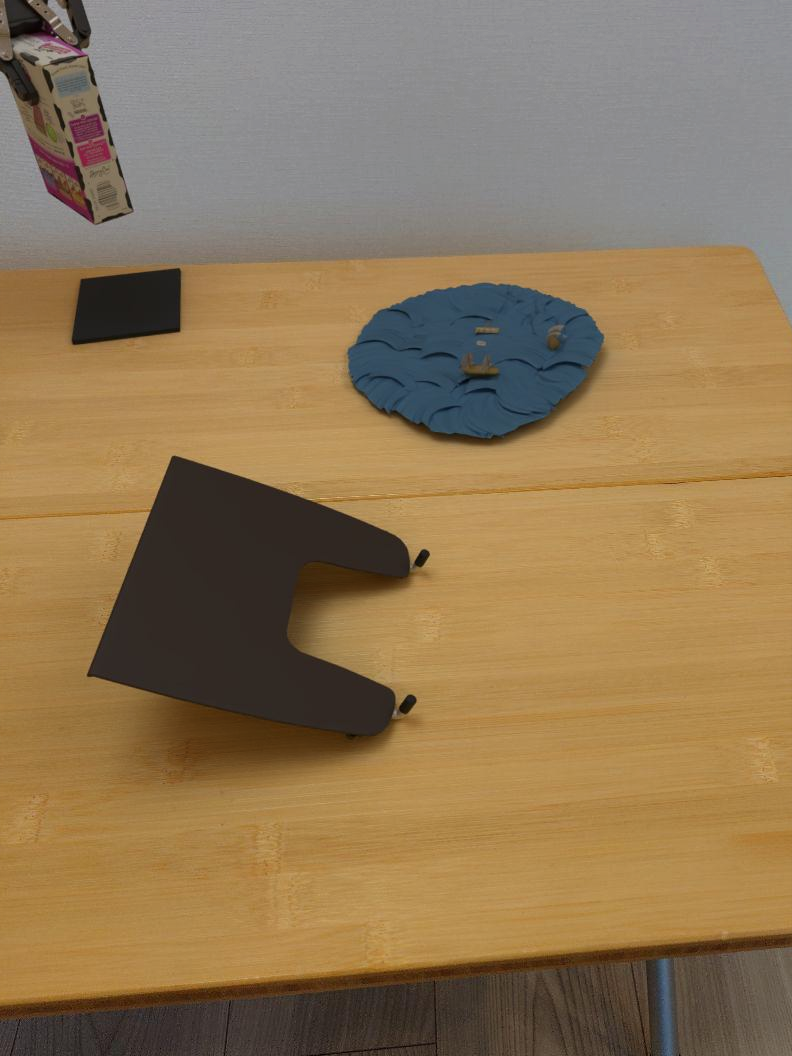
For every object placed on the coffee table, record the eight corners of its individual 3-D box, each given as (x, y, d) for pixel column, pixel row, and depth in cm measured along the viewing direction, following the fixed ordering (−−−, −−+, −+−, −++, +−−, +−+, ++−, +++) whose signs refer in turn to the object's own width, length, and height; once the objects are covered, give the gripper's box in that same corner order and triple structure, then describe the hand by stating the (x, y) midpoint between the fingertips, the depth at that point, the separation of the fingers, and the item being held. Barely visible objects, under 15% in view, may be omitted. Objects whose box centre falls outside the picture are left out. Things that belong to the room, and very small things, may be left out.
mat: (72, 344, 110) (71, 340, 110) (82, 283, 119) (80, 278, 119) (180, 331, 112) (178, 327, 112) (181, 271, 122) (179, 267, 121)
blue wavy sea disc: (348, 464, 98) (338, 425, 94) (350, 304, 118) (343, 267, 115) (629, 435, 100) (631, 395, 96) (584, 282, 120) (584, 245, 117)
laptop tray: (371, 796, 77) (413, 741, 71) (71, 727, 69) (91, 658, 63) (396, 583, 93) (433, 523, 87) (155, 507, 85) (178, 436, 79)
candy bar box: (138, 212, 104) (90, 53, 92) (95, 227, 101) (40, 66, 90) (87, 179, 109) (36, 24, 97) (45, 192, 107) (-12, 35, 95)
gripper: (-114, -83, 86) (-9, 93, 89) (41, -106, 93) (134, 57, 96) (-107, -31, 93) (-9, 132, 95) (38, -56, 100) (125, 96, 102)
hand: (62, 93), depth 96 cm, fingers closed on candy bar box, 5 cm apart
